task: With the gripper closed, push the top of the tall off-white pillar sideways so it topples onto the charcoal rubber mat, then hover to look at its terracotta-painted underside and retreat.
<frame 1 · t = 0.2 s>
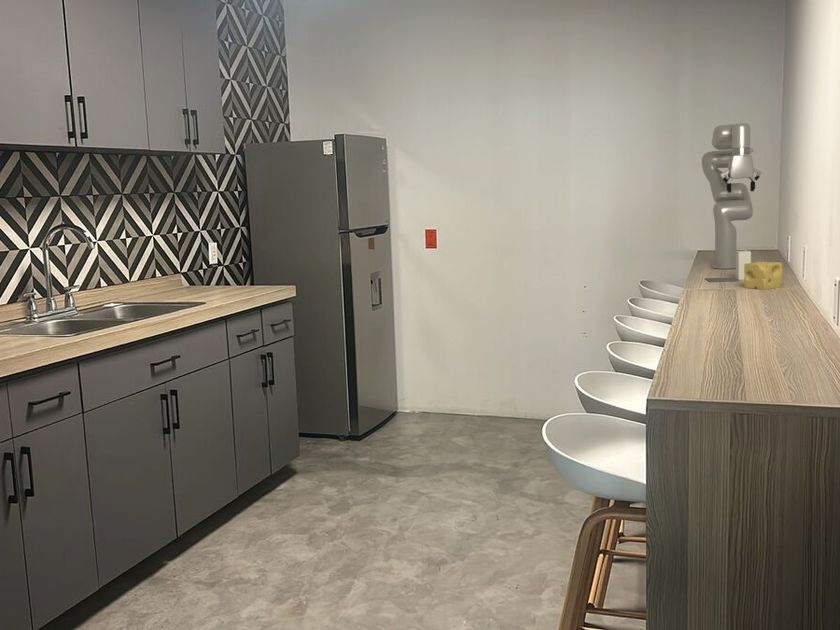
hand: (740, 191, 373), 36 cm above the table, tool pointing down, fingers open, 9 cm apart
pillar: (743, 279, 363), on the table
mat: (721, 280, 364), on the table
cheese: (762, 288, 338), on the table
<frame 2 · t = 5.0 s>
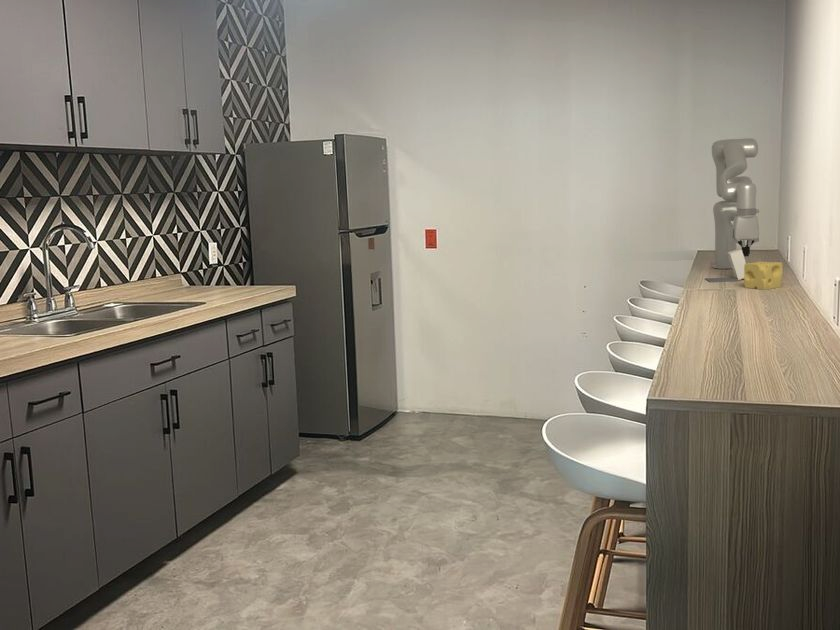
hand: (745, 256, 361), 10 cm above the table, tool pointing down, fingers closed
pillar: (742, 277, 363), point 1 cm above the table, tilted 17°
everything else where it was.
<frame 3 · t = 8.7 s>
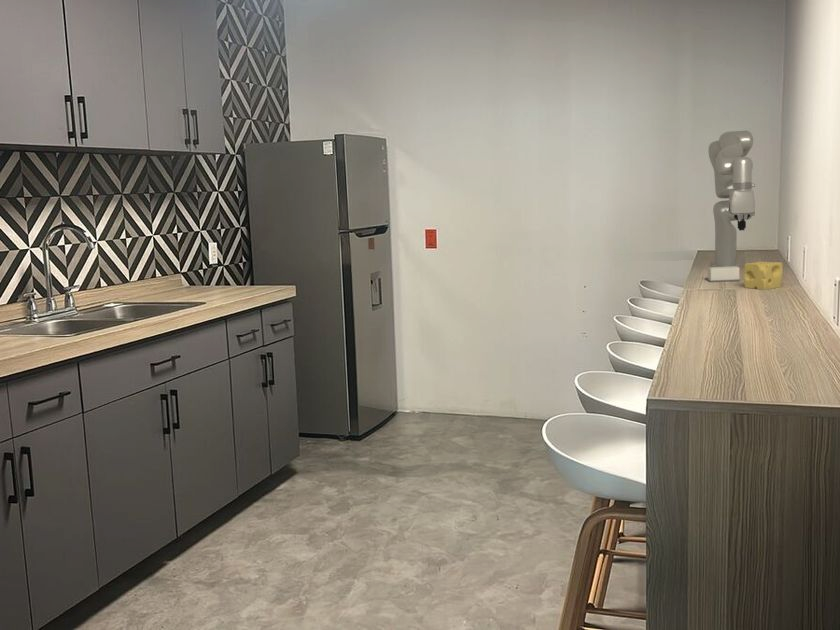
hand: (741, 230, 364), 21 cm above the table, tool pointing down, fingers closed
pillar: (738, 272, 363), point 3 cm above the table, tilted 90°, touching mat
everything else where it was.
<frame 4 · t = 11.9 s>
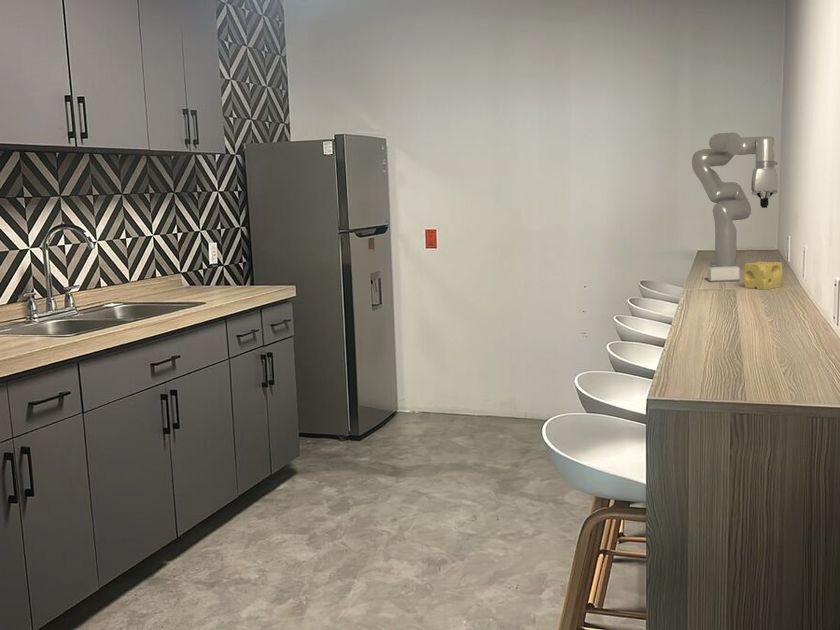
hand: (764, 207, 372), 29 cm above the table, tool pointing down, fingers closed
nothing on the table moved.
at the end: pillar tilted 90°; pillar touching mat; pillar inside the target area (0.6 cm from its centre), point 2.9 cm above the table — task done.
